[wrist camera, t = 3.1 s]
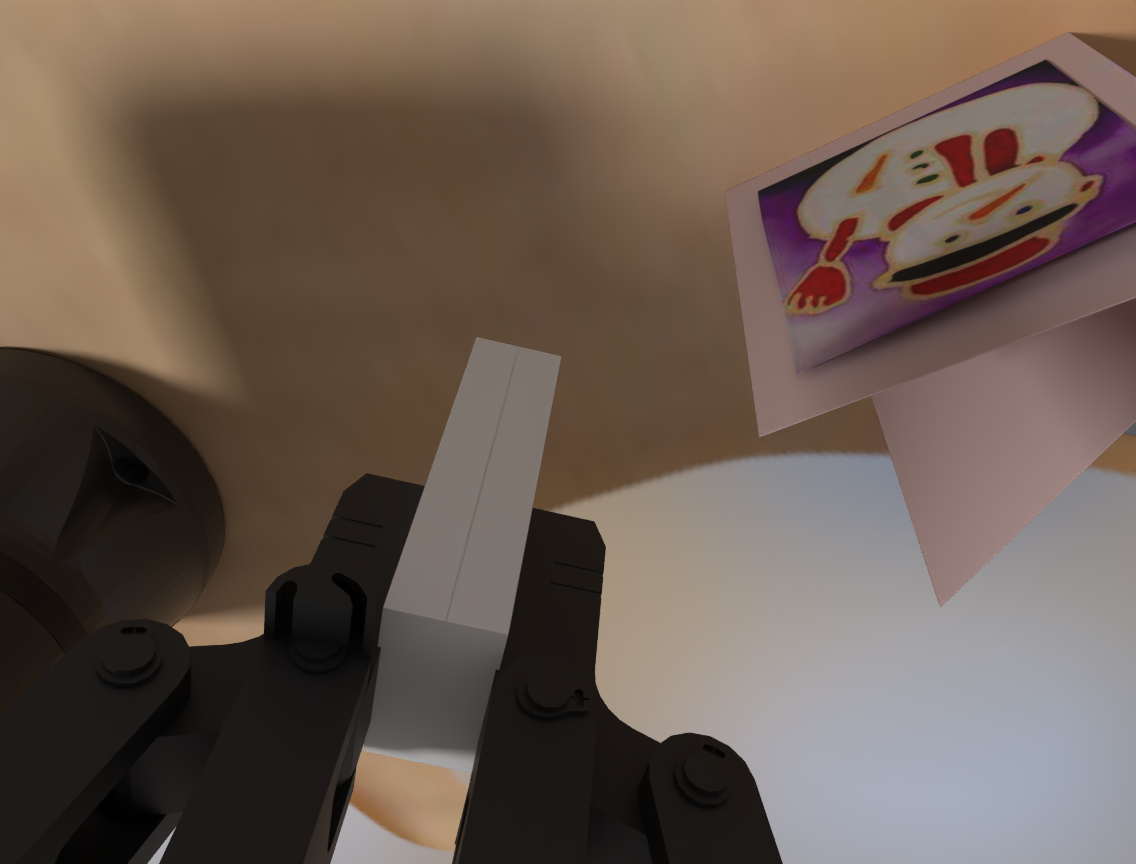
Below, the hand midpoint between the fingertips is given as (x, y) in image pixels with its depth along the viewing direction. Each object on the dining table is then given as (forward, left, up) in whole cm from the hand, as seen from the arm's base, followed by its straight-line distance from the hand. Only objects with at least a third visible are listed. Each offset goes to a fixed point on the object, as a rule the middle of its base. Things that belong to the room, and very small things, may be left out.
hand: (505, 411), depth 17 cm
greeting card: (0, -12, -19) cm, 22 cm away
